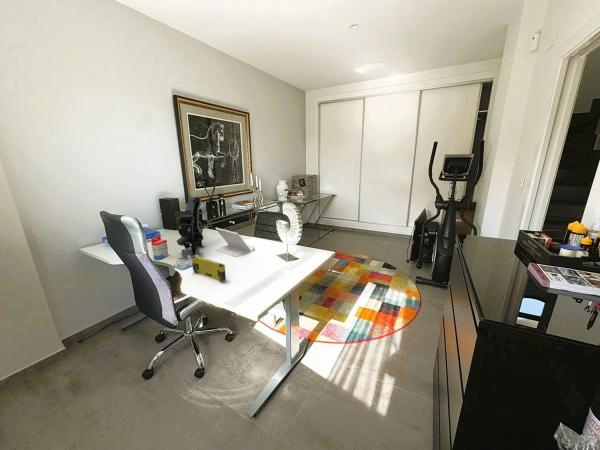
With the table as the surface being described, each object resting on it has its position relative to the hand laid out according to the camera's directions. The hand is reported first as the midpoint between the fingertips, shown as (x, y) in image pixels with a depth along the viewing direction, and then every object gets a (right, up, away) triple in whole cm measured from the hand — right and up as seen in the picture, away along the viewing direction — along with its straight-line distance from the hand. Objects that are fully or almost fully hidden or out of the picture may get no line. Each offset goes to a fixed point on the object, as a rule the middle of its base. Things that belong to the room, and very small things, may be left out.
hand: (191, 253), depth 171 cm
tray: (+5, -5, -15) cm, 16 cm away
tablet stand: (+28, +1, +11) cm, 30 cm away
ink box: (-19, -2, -4) cm, 19 cm away
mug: (-14, +8, +36) cm, 40 cm away
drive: (0, -1, 0) cm, 1 cm away
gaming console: (+25, -10, -32) cm, 42 cm away
